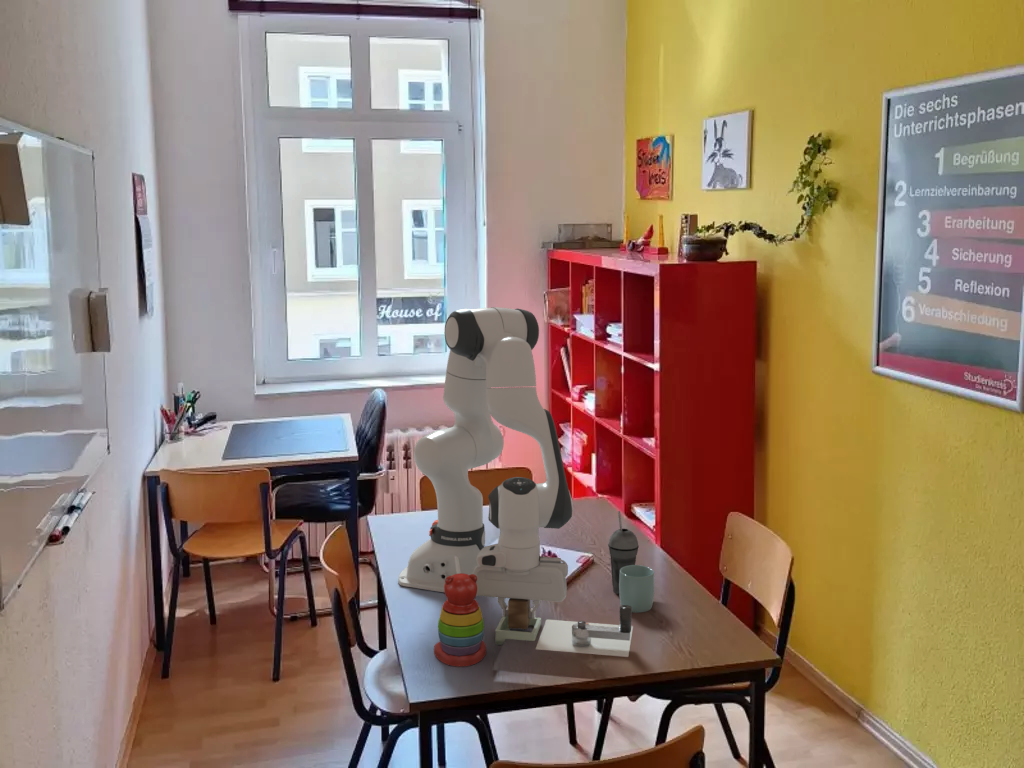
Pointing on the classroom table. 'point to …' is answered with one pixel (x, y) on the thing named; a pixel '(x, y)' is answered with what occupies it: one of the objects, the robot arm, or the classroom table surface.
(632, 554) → the beverage cup
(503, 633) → the tray
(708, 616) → the classroom table surface
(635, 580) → the cup
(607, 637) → the crank
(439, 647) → the stacking bear
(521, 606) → the block
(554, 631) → the crank plate
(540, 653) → the classroom table surface
